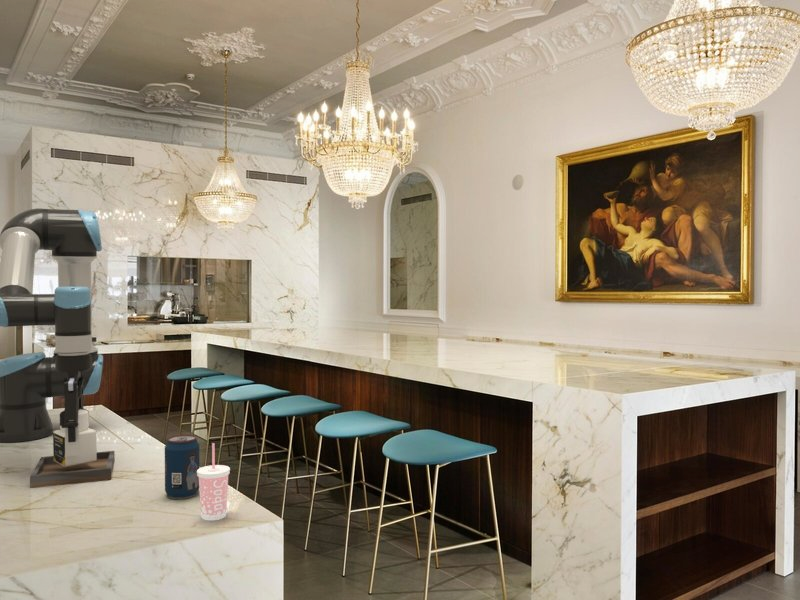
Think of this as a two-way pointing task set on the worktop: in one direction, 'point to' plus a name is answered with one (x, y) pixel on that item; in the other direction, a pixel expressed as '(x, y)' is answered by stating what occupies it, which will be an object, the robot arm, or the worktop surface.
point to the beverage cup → (213, 489)
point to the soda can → (182, 466)
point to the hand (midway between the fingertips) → (74, 449)
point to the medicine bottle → (85, 442)
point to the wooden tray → (72, 471)
